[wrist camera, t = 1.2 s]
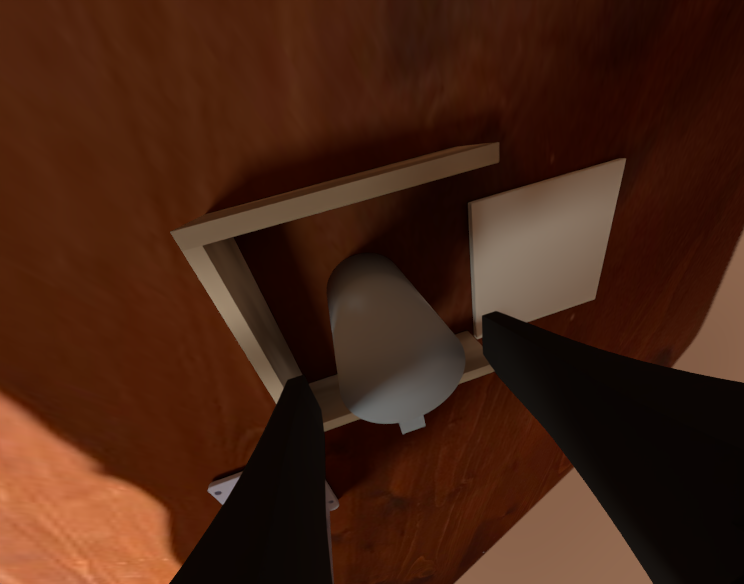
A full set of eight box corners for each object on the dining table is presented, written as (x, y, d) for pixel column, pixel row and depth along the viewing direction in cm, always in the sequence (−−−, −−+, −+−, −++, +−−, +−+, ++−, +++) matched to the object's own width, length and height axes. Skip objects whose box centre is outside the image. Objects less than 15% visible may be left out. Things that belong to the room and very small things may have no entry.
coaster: (590, 296, 21) (595, 299, 20) (473, 336, 20) (476, 339, 19) (619, 158, 16) (626, 158, 15) (467, 202, 15) (471, 203, 15)
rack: (467, 338, 20) (497, 370, 17) (300, 394, 19) (299, 440, 16) (456, 146, 14) (499, 141, 10) (204, 214, 12) (170, 231, 9)
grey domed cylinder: (315, 266, 15) (321, 350, 8) (395, 242, 15) (461, 304, 9) (348, 358, 18) (371, 468, 12) (413, 336, 19) (470, 431, 12)
